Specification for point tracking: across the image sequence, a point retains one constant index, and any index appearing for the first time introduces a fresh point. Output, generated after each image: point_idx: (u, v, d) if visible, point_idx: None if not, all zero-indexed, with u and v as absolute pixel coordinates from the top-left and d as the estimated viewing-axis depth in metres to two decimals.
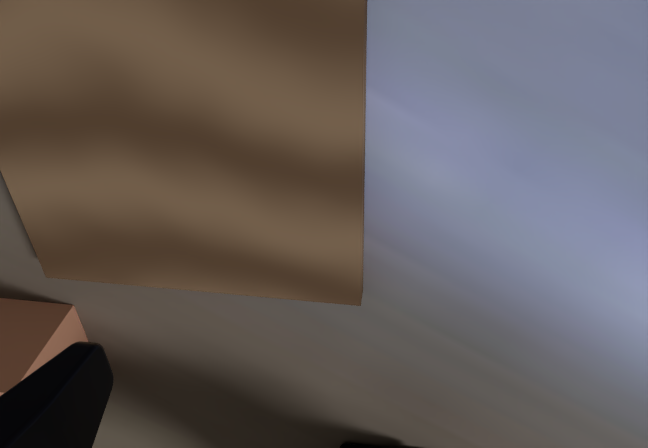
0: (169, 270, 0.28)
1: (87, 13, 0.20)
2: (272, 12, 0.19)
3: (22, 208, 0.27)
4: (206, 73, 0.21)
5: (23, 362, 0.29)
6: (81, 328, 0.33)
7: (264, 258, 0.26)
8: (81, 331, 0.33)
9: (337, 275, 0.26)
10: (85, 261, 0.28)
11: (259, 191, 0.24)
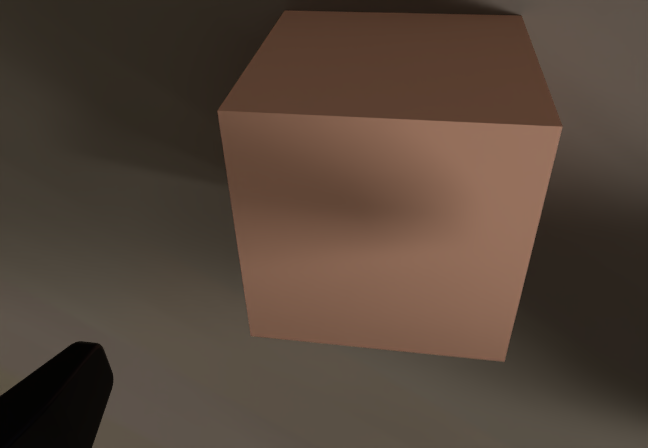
0: None
1: None
2: None
3: None
4: None
5: (520, 82, 0.11)
6: None
7: None
8: None
9: None
10: None
11: None
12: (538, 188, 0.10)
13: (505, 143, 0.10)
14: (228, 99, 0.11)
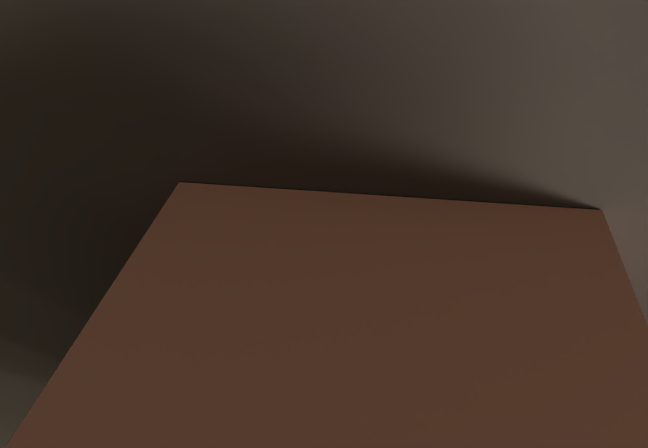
0: None
1: None
2: None
3: None
4: None
5: None
6: None
7: None
8: None
9: None
10: None
11: None
12: None
13: None
14: None
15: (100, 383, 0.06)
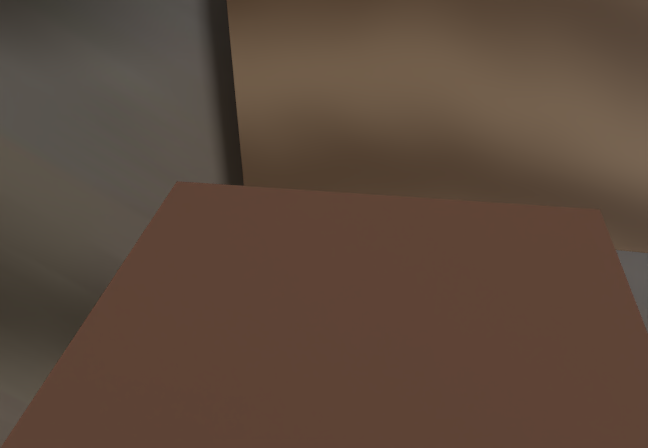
0: None
1: None
2: None
3: (245, 108, 0.19)
4: None
5: None
6: None
7: (585, 186, 0.19)
8: None
9: None
10: (312, 189, 0.21)
11: (626, 79, 0.17)
12: None
13: None
14: None
15: (97, 382, 0.06)
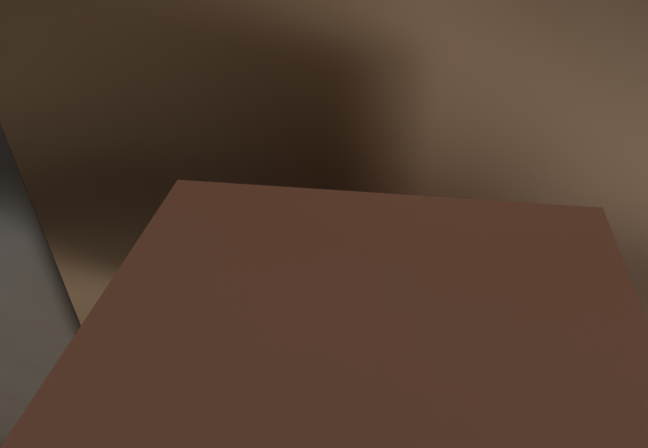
0: None
1: None
2: None
3: None
4: (521, 101, 0.10)
5: None
6: None
7: None
8: None
9: None
10: None
11: None
12: None
13: None
14: None
15: (97, 381, 0.06)
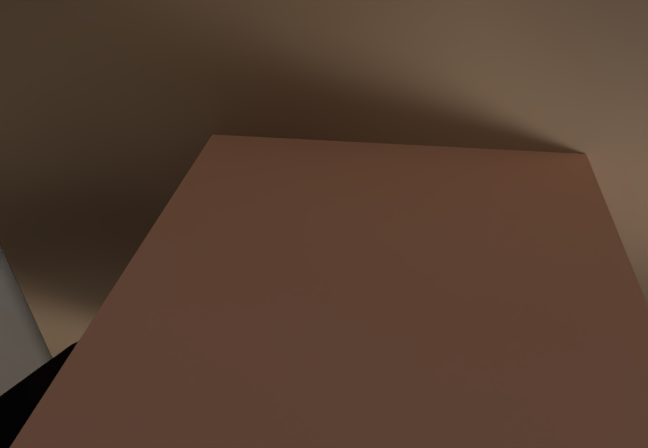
0: None
1: None
2: None
3: None
4: (532, 141, 0.09)
5: (621, 365, 0.06)
6: None
7: None
8: None
9: None
10: None
11: None
12: None
13: None
14: (38, 414, 0.05)
15: (160, 283, 0.07)
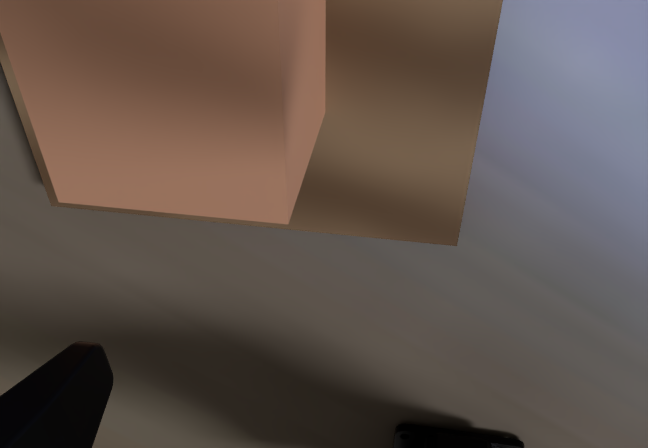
0: None
1: None
2: None
3: (24, 108, 0.21)
4: None
5: None
6: None
7: (339, 180, 0.20)
8: None
9: (433, 203, 0.20)
10: None
11: (346, 82, 0.18)
12: (272, 30, 0.11)
13: None
14: None
15: None
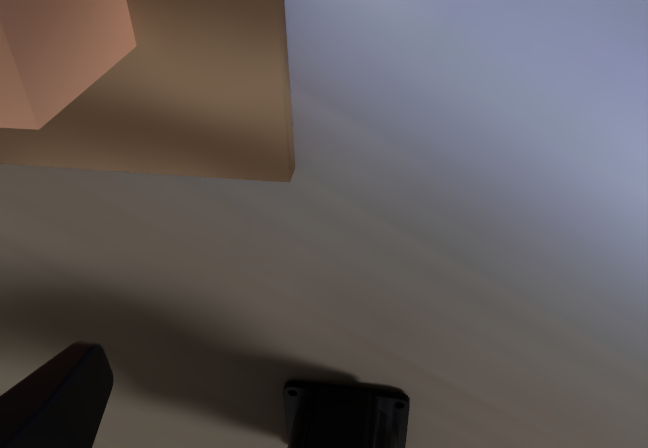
0: (53, 140, 0.22)
1: None
2: None
3: None
4: None
5: None
6: None
7: (165, 117, 0.21)
8: None
9: (257, 138, 0.21)
10: None
11: (148, 13, 0.19)
12: None
13: None
14: None
15: None
